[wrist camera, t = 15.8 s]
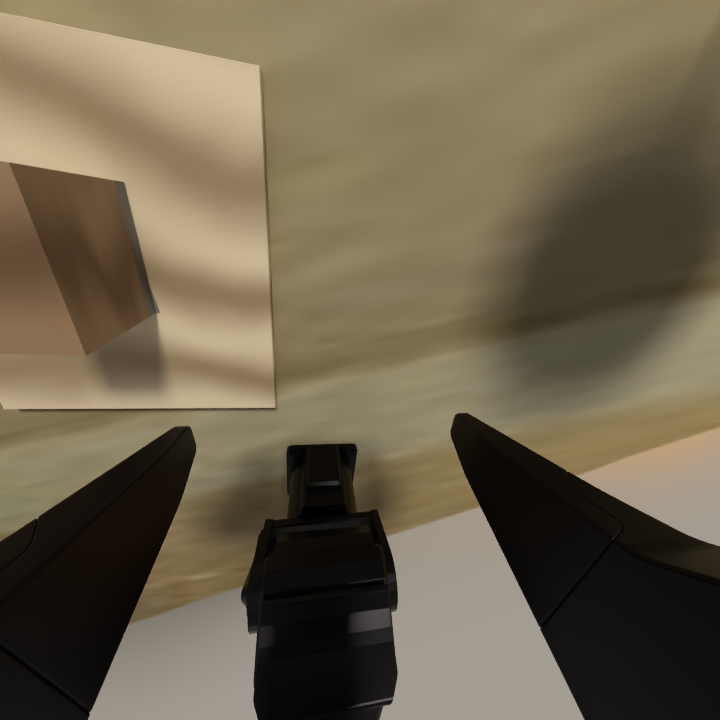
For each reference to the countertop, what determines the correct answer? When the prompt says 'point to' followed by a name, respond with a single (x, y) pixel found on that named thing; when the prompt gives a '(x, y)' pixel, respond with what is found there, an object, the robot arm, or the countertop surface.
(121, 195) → the block
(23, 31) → the birch board
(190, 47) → the countertop surface
